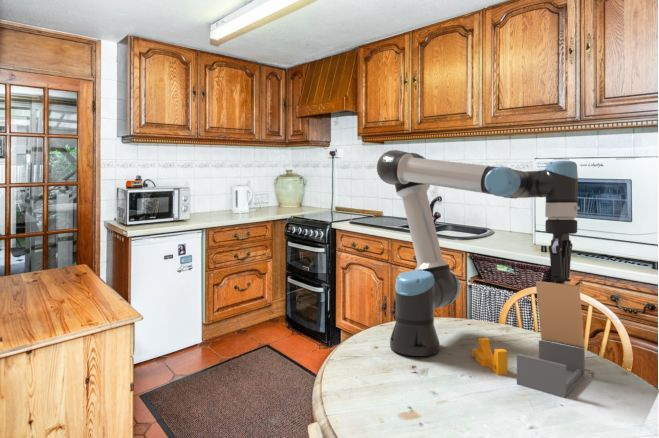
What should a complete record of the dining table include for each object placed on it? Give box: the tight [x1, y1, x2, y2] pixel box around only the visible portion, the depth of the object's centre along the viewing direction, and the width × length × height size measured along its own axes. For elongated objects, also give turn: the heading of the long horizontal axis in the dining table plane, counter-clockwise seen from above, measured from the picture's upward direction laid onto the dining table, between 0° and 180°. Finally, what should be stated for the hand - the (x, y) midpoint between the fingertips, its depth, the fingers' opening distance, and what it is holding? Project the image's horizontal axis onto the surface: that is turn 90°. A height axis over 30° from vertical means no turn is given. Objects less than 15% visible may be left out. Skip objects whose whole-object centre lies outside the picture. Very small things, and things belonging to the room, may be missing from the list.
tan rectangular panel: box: [535, 280, 585, 349], centre depth 110 cm, size 10×18×1 cm
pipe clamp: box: [471, 337, 508, 376], centre depth 115 cm, size 12×4×6 cm, turn 5°
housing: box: [516, 339, 586, 398], centre depth 106 cm, size 11×17×8 cm, turn 135°
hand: (560, 305), depth 111 cm, fingers closed
